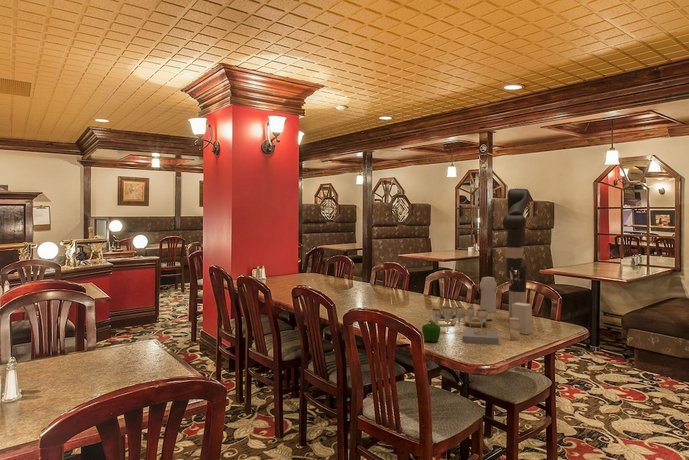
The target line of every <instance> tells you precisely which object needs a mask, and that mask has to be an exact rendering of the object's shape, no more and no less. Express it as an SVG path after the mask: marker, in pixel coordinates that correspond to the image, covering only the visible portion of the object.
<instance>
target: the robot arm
mask: <svg viewBox="0 0 689 460" xmlns="http://www.w3.org/2000/svg"><path fill="white" fill-rule="evenodd" d="M506 197H507V199H506V202H507V213H506V214H505V215H504V217H503V219H502V227H503V229H504V230H506V231H507V232H506V250H505V265H506V266H505V275H506V278H507V279H510V285H509V286H508V321H509V322H510V318H512V304H513V303H517V302H519V303H526V304H527V274H528V269H527V268H528V267H527V264H526V263H525V262H524V259H523V255H524V253H523V252H524V251H523V245H524V244H525V241H526V225H527V218H526V217H525V216H524V214H525V210H526V209H527V207H528V205H529V203H530V192H529V190H528V189H526V188H510V189H508V191H507V195H506Z"/></svg>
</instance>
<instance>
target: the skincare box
mask: <svg viewBox="0 0 689 460" xmlns="http://www.w3.org/2000/svg"><path fill="white" fill-rule="evenodd" d="M532 311H533V310H532V303H527V302H526V303H519V302H517V303H513V304H512V318H518V319H519V334H522V335H528V334H533V332H534V331H533V329H534V327H533V312H532Z"/></svg>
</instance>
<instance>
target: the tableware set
mask: <svg viewBox="0 0 689 460" xmlns="http://www.w3.org/2000/svg"><path fill="white" fill-rule="evenodd" d="M437 309H440V310H441V317H440V319H439V321H445V322H447V321H446V319H445V318H443V317H444V316H443V309H441V308H439V307H438V308H437ZM455 316H456V314H455V310H453V315H452V318H451V319H450V320H449V322H451V323H450V324H448V327H452V326H451V325H453V326H455V325H456V323H457V321H458V320H457V318H454V317H455ZM428 319H429V320H430V321H431V322H432V321H435V320H434V319H433V317H429V318H428ZM493 319H494V318H492V317H489V316H488V317H487V319H486V320H485V321H484V322H483V324H487V321H490V320H492V321H493ZM463 321H464V323H466V324H467V325H468V326H469V327H470V321H469V319H468V316H467V314H466V315H465V316H464V317H463ZM431 322H430V323H431ZM433 324H434V323H433ZM435 324H436V323H435ZM437 325H439V327H447V324H438V323H437ZM471 327H474V328H477V327H478V328H479V327H481V322H480V321H479V320H478V319H477V317H476V314H474V316H473V318H472V321H471Z"/></svg>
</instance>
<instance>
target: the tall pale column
mask: <svg viewBox="0 0 689 460" xmlns="http://www.w3.org/2000/svg"><path fill="white" fill-rule="evenodd" d="M497 283H498V282H496V280H495V277H492V276H484V277H481V280H480V282H479V289H480V300H479V301H480V308H479V309H484V310H487V314H489V313H497V299H496V294H497V293H496V292H497V285H498V284H497Z"/></svg>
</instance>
